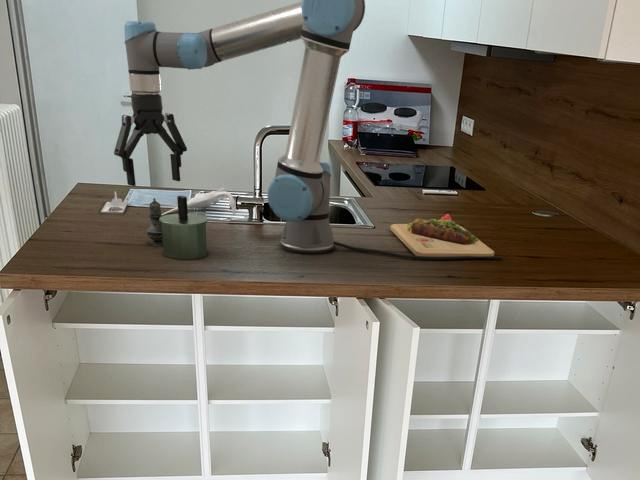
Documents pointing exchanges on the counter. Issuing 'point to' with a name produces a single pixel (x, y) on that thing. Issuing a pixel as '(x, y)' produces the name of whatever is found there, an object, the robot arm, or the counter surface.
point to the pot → (184, 241)
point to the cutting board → (439, 238)
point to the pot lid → (182, 216)
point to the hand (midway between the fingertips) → (154, 182)
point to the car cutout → (115, 206)
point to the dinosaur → (208, 200)
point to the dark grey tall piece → (155, 225)
